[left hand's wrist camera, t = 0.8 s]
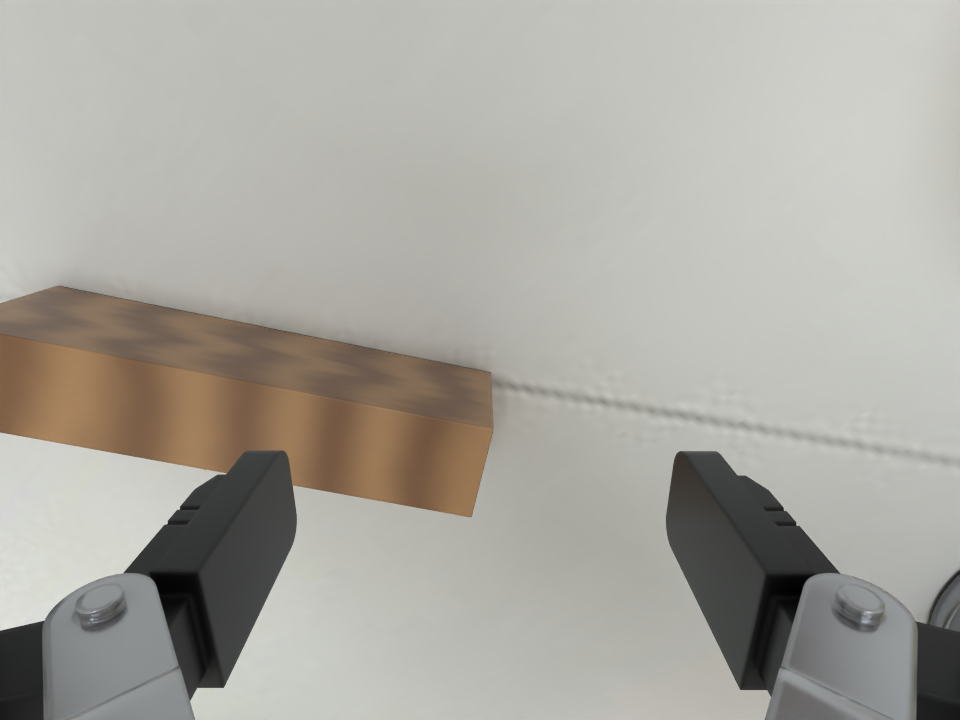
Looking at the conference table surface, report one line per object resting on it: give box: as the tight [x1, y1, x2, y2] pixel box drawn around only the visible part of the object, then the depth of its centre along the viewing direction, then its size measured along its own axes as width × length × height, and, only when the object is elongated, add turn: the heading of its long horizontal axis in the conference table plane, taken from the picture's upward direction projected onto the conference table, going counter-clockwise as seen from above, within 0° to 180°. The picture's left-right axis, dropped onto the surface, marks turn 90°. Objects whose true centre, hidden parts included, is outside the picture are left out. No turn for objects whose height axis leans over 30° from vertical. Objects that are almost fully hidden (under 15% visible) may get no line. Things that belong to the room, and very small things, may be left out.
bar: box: [0, 286, 493, 517], centre depth 33 cm, size 28×6×8 cm, turn 78°
